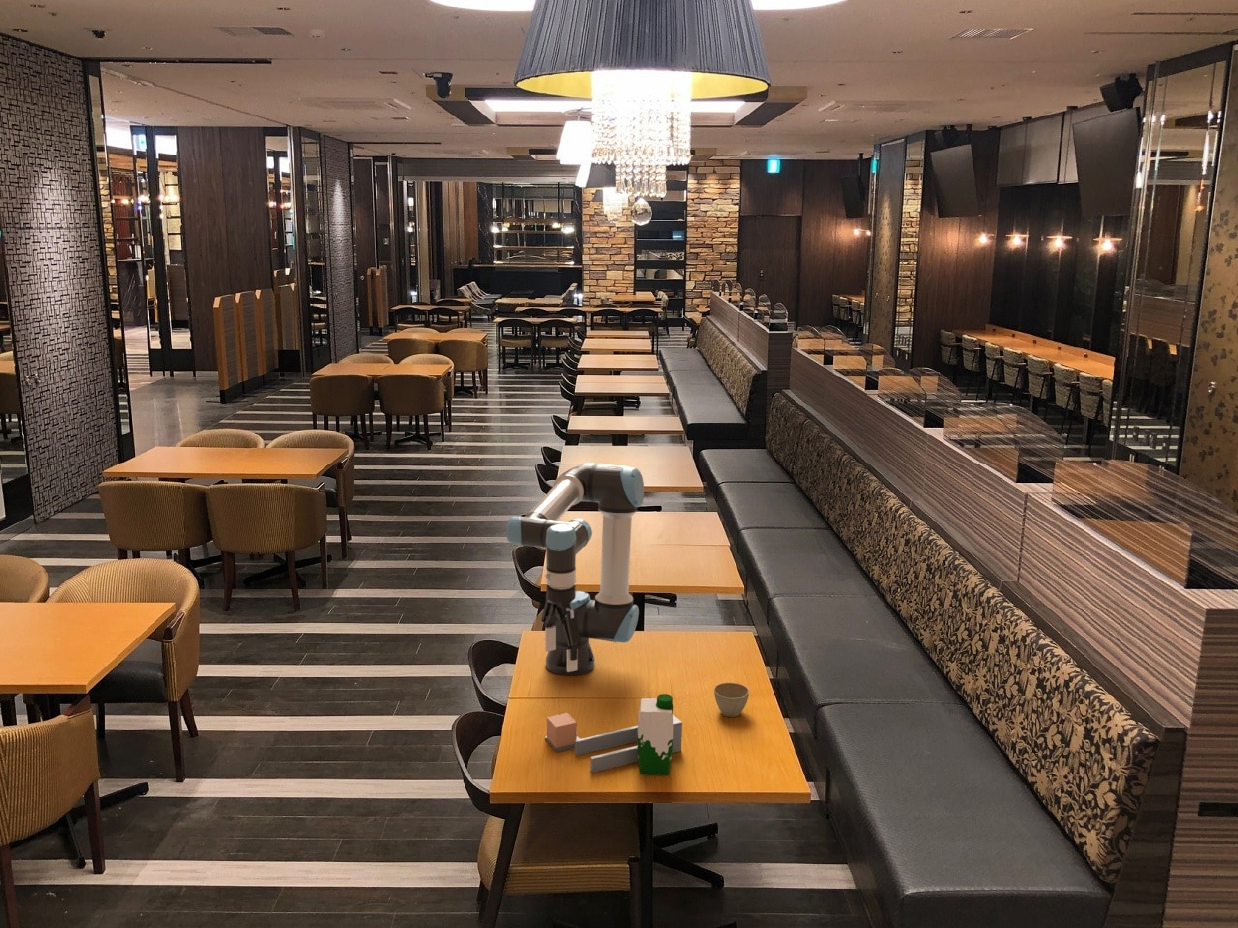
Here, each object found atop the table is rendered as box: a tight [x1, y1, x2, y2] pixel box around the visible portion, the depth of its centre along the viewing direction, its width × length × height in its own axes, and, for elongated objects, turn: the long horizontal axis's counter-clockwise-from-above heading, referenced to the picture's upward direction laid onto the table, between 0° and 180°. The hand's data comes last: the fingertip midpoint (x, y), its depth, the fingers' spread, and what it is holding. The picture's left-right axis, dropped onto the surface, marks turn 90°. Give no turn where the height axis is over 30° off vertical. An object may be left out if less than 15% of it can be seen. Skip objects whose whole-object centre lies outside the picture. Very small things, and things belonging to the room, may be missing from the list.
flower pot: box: [713, 682, 750, 718], centre depth 296 cm, size 10×10×7 cm
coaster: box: [544, 735, 581, 753], centre depth 280 cm, size 8×8×1 cm
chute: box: [574, 714, 683, 774], centre depth 274 cm, size 10×26×8 cm, turn 117°
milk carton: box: [636, 693, 674, 777], centre depth 266 cm, size 9×9×20 cm
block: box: [546, 712, 578, 748], centre depth 278 cm, size 6×6×6 cm
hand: (561, 660), depth 275 cm, fingers open, 13 cm apart
